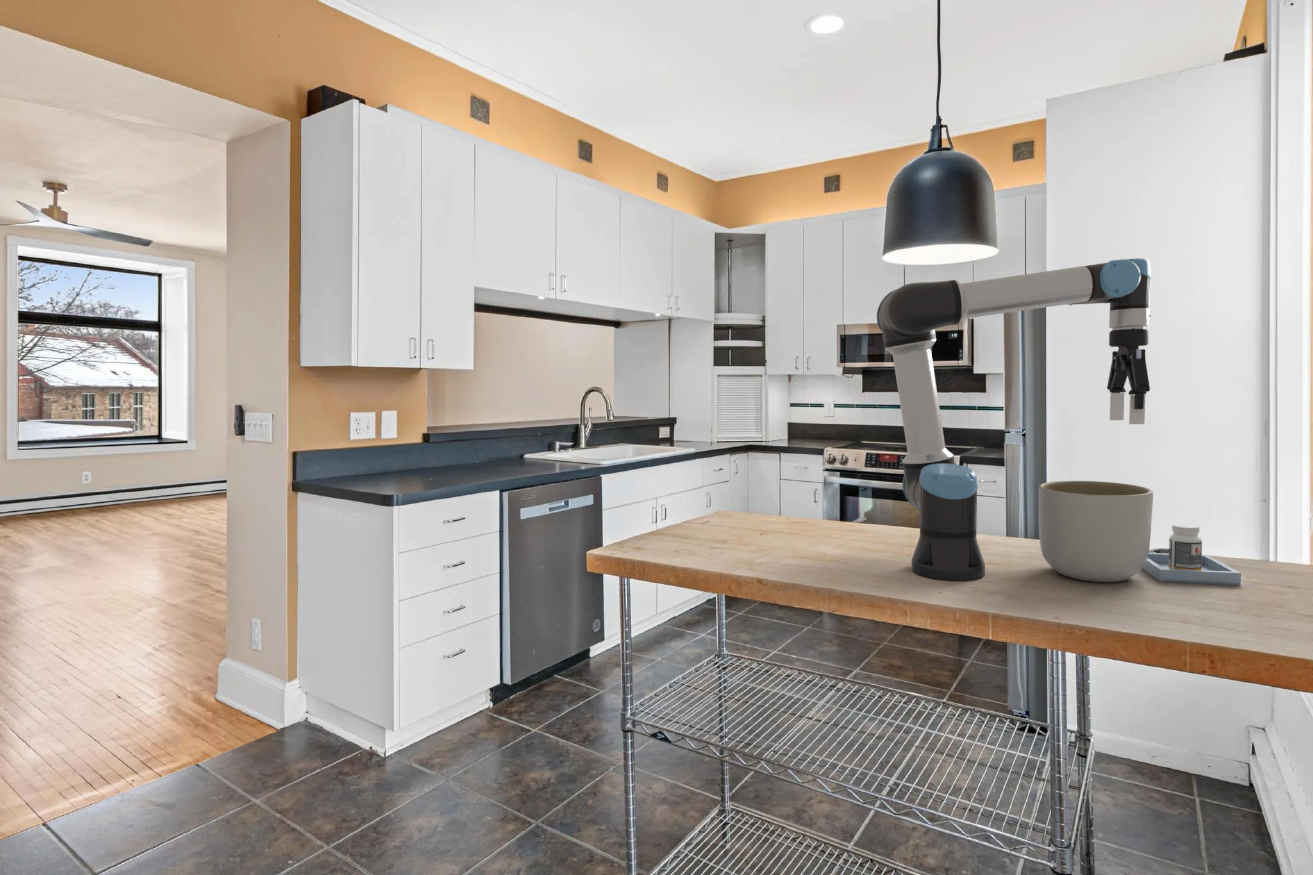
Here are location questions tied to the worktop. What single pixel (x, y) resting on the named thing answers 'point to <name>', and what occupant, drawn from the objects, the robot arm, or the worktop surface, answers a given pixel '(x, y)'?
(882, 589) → the worktop surface
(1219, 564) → the tray
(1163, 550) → the ring
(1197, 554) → the pill bottle
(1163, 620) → the worktop surface
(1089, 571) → the planter
